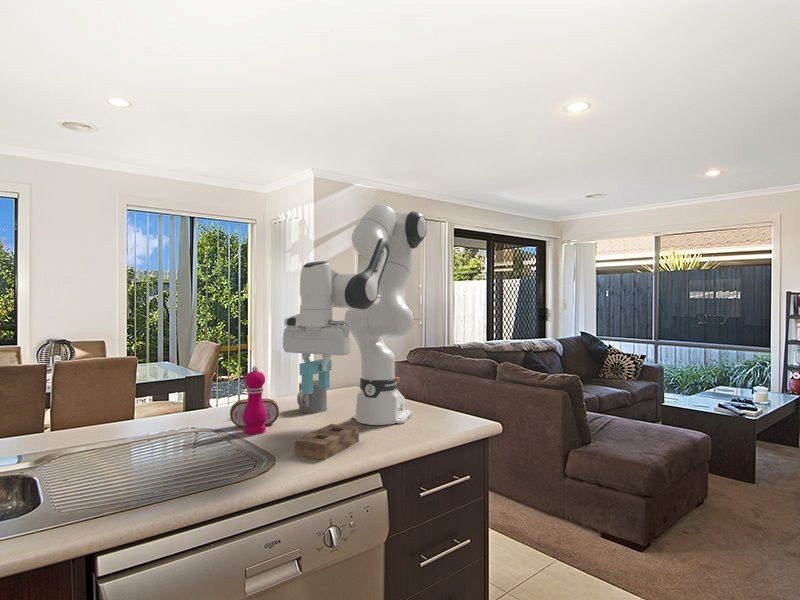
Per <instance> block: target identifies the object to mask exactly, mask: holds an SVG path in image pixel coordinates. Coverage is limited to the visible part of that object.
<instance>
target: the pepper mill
mask: <svg viewBox="0 0 800 600" xmlns="http://www.w3.org/2000/svg"><path fill="white" fill-rule="evenodd" d="M251 370H252V371H250V372H248V373H247V374H246V375H245V378H244V383H245V386H246V393H247V398H248V402H247V406H246V408H245V410H244V413H243V422H244V423H245V424H246V426H245V427H243V432H244V434H246V435H260V434H264V433H265V432H266V431H267V430H266V427H267V425H266V426H265V425H264V423H265V421H266V420H267V412H266V409H265V407H264V405H263V401H262V399H263V393H264V384H265V383H266V376H265V374H264V373H263V372H261V371H259V368H258V366H256V365H253V366H252V367H251Z"/></svg>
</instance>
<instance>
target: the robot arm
mask: <svg viewBox="0 0 800 600" xmlns="http://www.w3.org/2000/svg"><path fill="white" fill-rule="evenodd" d="M427 231H428V224H427V219H426V217H425V216H424V214H423V213H420V212H417V211H413V210H412V211H402V210H401V211H399V210H394V209H392V208H391V206H388V205H386V204H383V203H379V204H375V205H374V206H372V207H371V208H370V209H368V211H367V212H366V213H365V214H364V215H362V217H361V219H360V220H359V221H358V223H357V225H356V226H355V227H354V229H353V231H352V234H351V243H352V246H353V249H355V251H356V252H357V253H358V254H359V255H360V256H361V257H364V258H366V259H367V260H366V263H365V265H364V267H363V269H362V270H361V271H359V272H356V273H349V274H347V273H345V274H342V273H339V272H336V271H335V270H334V269H333V268H332V267H331V263H330V262H328V261H325V260H320V261H309V262H307V263H305V264H304V265H302V268H301V270H300V277H299V296H300V306H299V313H297V314H294V315H292V316H290V317H287V318H285V319H284V320H283V324H284V326H285V327H284V329H283V332H282V333H283V334H282V349H283V351H284V352H285V353H291V354H301V358H302V360H303V363H306V362H311V361H312V360H311V359H310V357H311V355H321V356H322V358H321V359H324V360H323V362H322V364H319V371H326V370H327V364H328V362H329V360H331V358H332V356H347V355H349V354H350V353H351V340H350V339H351V338H350V333H351V335H352V336H353V338H354V339H355V341H356V343H357V346H358V348H359V353H360V363H361V378H360V379H359V388H360V391H359V392H358V393H357V394H356V407H355V413H354V414H352V418H353V419H354V420H356V422H358V423H360V424H364V425H370V426H386V425H387V426H388V425H393V424H395V423H397V424H404V423H406V421H407V420H408V419H409V418H410V417H411V415H412V413H413V412H412V410H411V409H410V410H409V409H407V408H406V398H405V396H404V395H403V394H402V393H401V392H400V391H399V389H397V388H398V385H397V384H399V383H400V377H399V376H396V374H395V372H396V371H395V367H396V364H395V363H396V362H395V359H396V358H395V354H394V352H393V351H392V350H391V349H389V348H388V347H387V345H386V344H385V341H384V339H383V338H384V337H385V338H397V337H403V336H407V335H408V334H409V333H410V332H411V331H412V329H413V326H414V321H415V320H414V319H415V318H414V314H413V312H412V310H411V308H410V307H408V305H407V304H406V303H407V302H406V297H405V295H406V290H407V287H408V283H409V280H410V277H411V274H412V270H413V265H414V258H415V250H414V249H416V248H418V247H419V245H420V243H421V242H423V240H424V238H425V237H426V234H427ZM378 295H379V296H380V300H379V302H378V303H375V302H376V300H377V298H378ZM333 308H339V309H340V308H342V309H344V308H345V309H346V308H347V310H346V312H345V314H344V320H333ZM408 417H409V418H408ZM395 425H396V424H395Z"/></svg>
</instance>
